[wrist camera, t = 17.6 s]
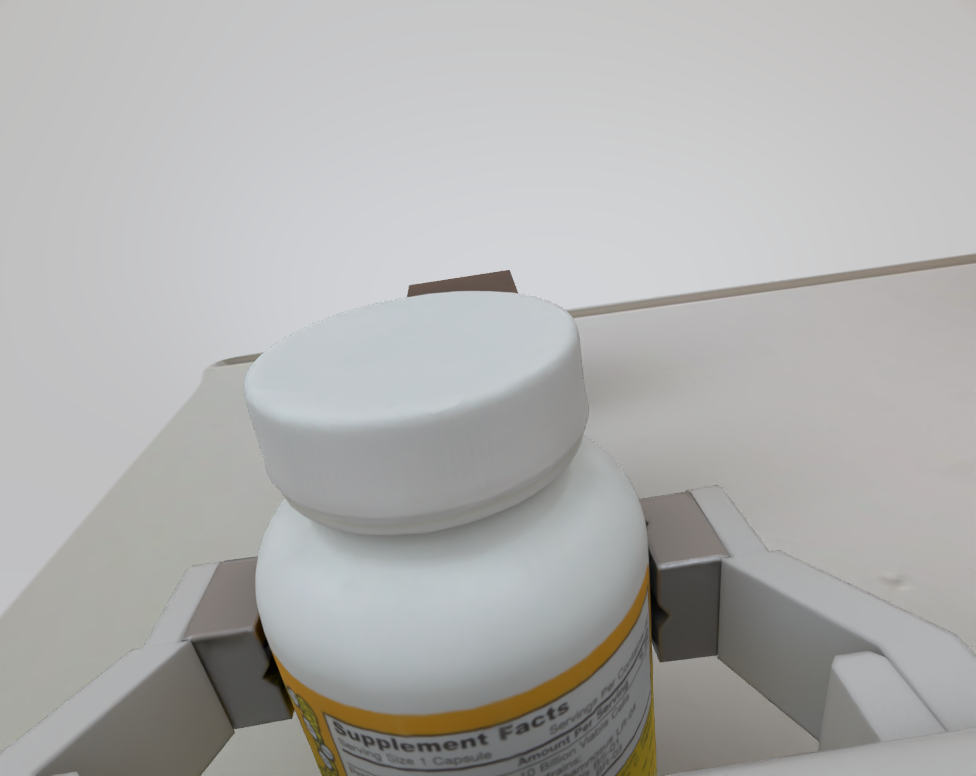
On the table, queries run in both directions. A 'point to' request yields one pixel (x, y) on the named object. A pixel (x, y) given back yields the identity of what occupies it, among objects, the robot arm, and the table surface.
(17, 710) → the table surface
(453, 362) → the supplement bottle
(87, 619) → the table surface
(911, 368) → the table surface
